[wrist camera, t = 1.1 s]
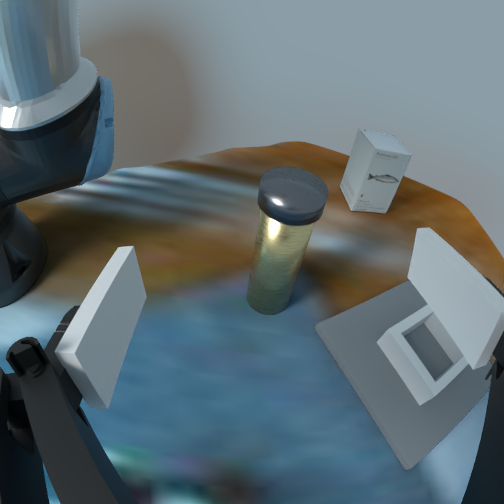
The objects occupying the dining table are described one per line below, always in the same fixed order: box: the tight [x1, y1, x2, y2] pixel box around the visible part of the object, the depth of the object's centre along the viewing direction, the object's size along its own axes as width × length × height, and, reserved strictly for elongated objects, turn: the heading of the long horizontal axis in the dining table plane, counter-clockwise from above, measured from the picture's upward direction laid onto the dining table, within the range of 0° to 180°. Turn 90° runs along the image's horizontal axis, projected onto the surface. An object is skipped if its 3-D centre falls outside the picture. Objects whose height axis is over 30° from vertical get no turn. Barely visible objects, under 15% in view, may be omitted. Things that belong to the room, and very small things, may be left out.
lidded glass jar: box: [247, 167, 328, 315], centre depth 31 cm, size 6×6×16 cm
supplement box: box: [340, 129, 412, 214], centre depth 49 cm, size 7×7×13 cm
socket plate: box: [315, 280, 492, 470], centre depth 31 cm, size 20×20×4 cm
